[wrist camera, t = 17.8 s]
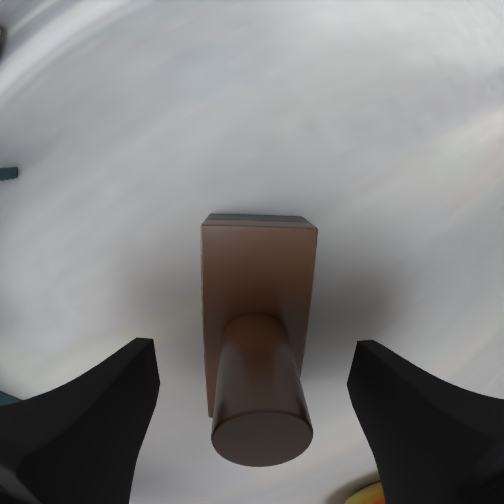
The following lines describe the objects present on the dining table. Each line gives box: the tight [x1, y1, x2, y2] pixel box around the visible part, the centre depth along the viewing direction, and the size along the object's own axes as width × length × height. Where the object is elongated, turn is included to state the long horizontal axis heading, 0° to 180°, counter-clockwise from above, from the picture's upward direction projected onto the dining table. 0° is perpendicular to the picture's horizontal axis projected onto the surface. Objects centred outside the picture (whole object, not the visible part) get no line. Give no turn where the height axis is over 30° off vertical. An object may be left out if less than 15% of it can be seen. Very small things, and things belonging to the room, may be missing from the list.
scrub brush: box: [201, 214, 318, 467], centre depth 10 cm, size 9×4×8 cm, turn 178°
